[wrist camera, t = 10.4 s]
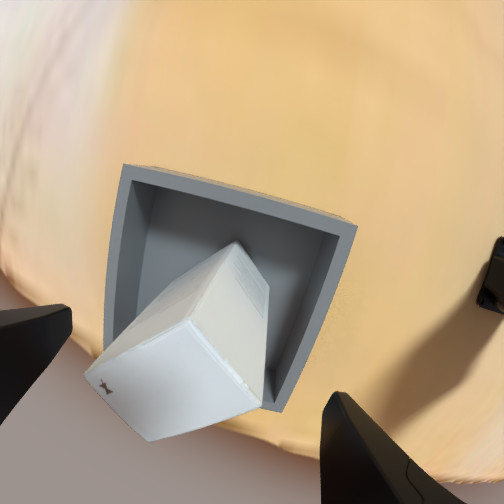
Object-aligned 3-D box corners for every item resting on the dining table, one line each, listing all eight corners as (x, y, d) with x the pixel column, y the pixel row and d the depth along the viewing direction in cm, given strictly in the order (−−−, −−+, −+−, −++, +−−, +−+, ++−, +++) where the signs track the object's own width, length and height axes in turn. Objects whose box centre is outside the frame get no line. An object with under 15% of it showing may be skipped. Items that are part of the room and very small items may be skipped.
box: (340, 216, 19) (357, 226, 15) (282, 376, 22) (281, 412, 18) (154, 166, 19) (123, 163, 15) (129, 328, 23) (103, 354, 18)
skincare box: (205, 326, 21) (145, 445, 10) (171, 280, 21) (77, 374, 9) (273, 287, 20) (265, 410, 8) (239, 236, 19) (184, 312, 8)
